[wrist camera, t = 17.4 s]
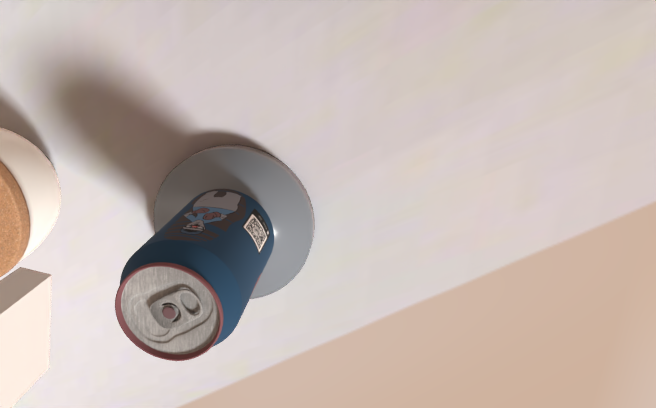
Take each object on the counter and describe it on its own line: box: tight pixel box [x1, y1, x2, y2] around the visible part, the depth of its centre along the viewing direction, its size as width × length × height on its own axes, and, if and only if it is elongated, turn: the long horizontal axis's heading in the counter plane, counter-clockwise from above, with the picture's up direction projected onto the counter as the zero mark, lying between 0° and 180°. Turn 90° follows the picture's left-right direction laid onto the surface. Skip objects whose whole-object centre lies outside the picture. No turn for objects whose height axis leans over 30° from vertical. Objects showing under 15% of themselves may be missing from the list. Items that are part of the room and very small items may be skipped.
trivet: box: [154, 145, 315, 299], centre depth 38 cm, size 12×12×2 cm
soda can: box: [115, 189, 274, 361], centre depth 32 cm, size 7×7×12 cm
